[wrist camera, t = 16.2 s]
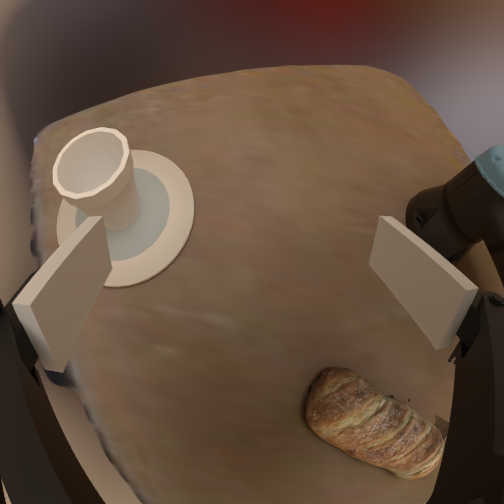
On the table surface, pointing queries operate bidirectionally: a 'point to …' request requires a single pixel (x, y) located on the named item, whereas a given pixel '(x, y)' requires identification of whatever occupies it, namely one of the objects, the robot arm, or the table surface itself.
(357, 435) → the bread loaf
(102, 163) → the foam cup
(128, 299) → the table surface
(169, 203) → the plate
